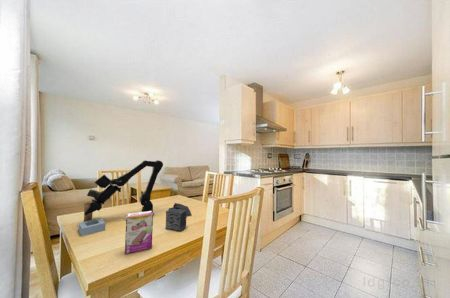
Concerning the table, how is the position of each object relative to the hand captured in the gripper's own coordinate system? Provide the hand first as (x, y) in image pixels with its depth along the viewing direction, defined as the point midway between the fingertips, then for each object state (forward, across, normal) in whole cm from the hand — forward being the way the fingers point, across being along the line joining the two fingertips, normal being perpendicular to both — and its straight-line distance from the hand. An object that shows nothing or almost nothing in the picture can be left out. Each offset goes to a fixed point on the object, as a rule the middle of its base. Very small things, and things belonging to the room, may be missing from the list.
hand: (85, 213), depth 104 cm
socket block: (+2, +10, +8) cm, 13 cm away
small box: (-28, +29, +38) cm, 56 cm away
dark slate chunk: (-34, +3, +46) cm, 57 cm away
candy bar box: (-13, +43, +24) cm, 51 cm away
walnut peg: (+4, 0, +6) cm, 7 cm away
